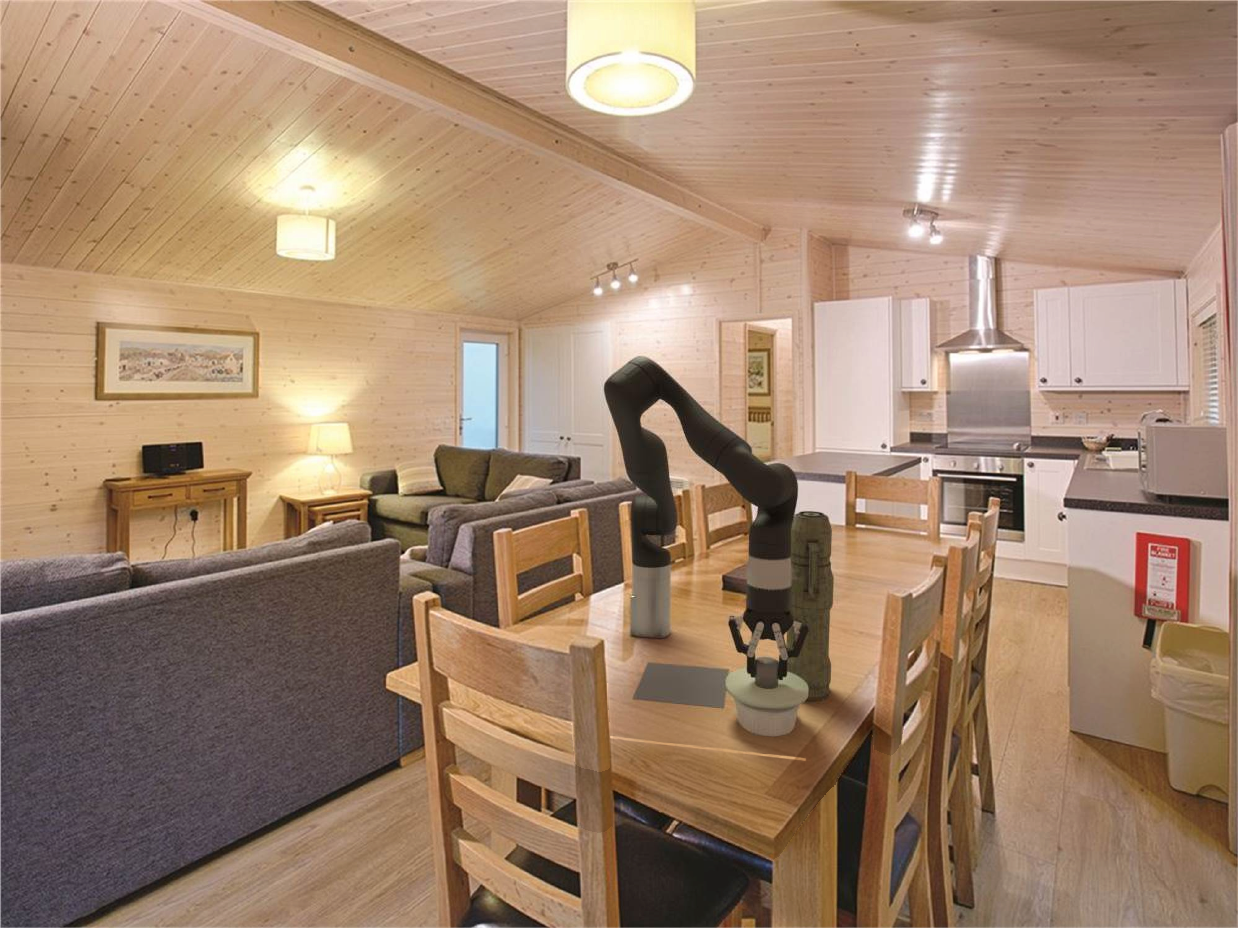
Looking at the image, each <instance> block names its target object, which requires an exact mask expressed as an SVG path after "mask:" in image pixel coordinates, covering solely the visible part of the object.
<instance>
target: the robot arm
mask: <svg viewBox="0 0 1238 928" xmlns="http://www.w3.org/2000/svg"><path fill="white" fill-rule="evenodd" d="M603 394H604V398H605V401H606V404H607V407H608V410H609V412H610V416H611V419H612V422H613V424H614V427H615V429H616V432H617V436H618V440H619V444H620V448H621V452H622V459H623V463H624V467H625V472H626V475H627V477H628V479H629V480H630V482H631V483H632V484H633V485H634V486H635V487H636V488H637V489H638V490H640V491H641V492H642V493H644V494H645V495H637V496H635V497H634V498H633V499H632V501H631V505H630V531H631V556H632V558H631V562H632V564H631V569H632V570H631V572H632V573H631V575H632V576H631V585H632V586H631V587H632V589H631V590H632V591H631V592H632V593H631V594H630V597H629V599H630V600H629V602H630V604H629V607H630V608H629V609H630V610H629V611H630V612H629V615H630V616H629V618H630V620H629V621H630V623H629V627H630V628H629V630H630V631H629V633H630V635H631V636H636V637H638V638H642V639H651V640H652V639H654V640H655V639H656V640H657V639H663V638H665V637H669V635H670V634H671V597H672V596H671V595H672V594H671V593H672V592H671V590H672V588H671V586H672V585H671V581H672V580H671V577H672V576H671V575H672V572H671V571H672V568H671V567H672V566H671V564H672V563H671V562H672V561H671V560H672V557H671V551H670V550H668V549H667V548H665V547H663V546H661V545H659V544H656V543H654V542H653V541H651V540H650V539H649V538H648V536H660V537H661V536H663V537H664V536H670V535H672V534H673V533H674V532H676V529H677V526H678V510H677V504H676V500H675V497H674V492H673V488H672V485H671V478H670V469H669V467H670V466H669V458H668V452H667V448H666V445H665V442H664V440H663V439H662V438H661V437H660V436H659V435H658V434H656V433H655V432H653V431H651V430H649V429H647V428H645V427H642V423H641V419H642V416H643V414H644V413H645V412H647V411H648V410H649V409H650V408H652V407H653V406H654V405H655V404H656V403H657V402H658V401H660V400H661V401H663V402H665V403H666V404H667V405H669V406H670V407H671V408H672V409H673V411H674V412H675V414H676V415H677V417H678V419H679V423H680V425H681V428H682V431H683V434H684V437H685V439H686V441H687V444H688V445H689V447H690V449H691V450H692V451H693V453H695V454H696V455H697V457H699V458H700V459H701V460H703V462H706V463H707V464H708V465H709V466H711V467H712V468H713V469H714V470H716V471H717V472H719V473H720V474H722V475H723V476H724V478H725V479H726V480H727V482H728V483H729V484H730V485H731V487H733V488H734V490H736V492H737V493H738V494H739V495H740V496H741V497H742V498H743V499H745V500H746V501H747V502H748V503H749V504H751V505H753V506H755V507H757V511H756V517H755V518H754V520H753V521H752V522H751V524H750V527H749V531H748V557H747V564H746V575H745V577H746V585H745V588H746V590H745V592H746V593H745V595H746V597H745V610H744V612H743V614H742V615H738V616H735V615H729V617H728V622H727V624H728V627H729V630H730V633H731V636H732V641H733V643H734V648H735V650H736V652H737V653H739V654H744V655H745V656H746V668H747V673H748V674H751V677H752V678H755V660H756V651H757V647H758V646H759V642H760V641H764V640H769V641H770V640H771V641H776V645H777V648H778V652H779V655H778V662H779V680H783V677H786V676H787V661H788V659H789V658H791V657H795V658H797V657H798V656H799V654H800V651H801V649H802V646H803V644H804V641H805V638H806V636H807V633H808V631H809V627H808V623H807V622H806V621H802V622H801V621H798V620H796V619H794V618H793V615H792V614H791V590H792V565H791V527H792V523H793V519H794V516H795V514H796V509H797V503H798V495H799V484H798V479H797V476H796V474H795V472H794V471H793V469H792V468H791V467H790V466H788V465H786V464H785V463H781V462H780V463H779V462H774V463H768V464H766V463H765V462H763V461H762V460H761V459H759V458H758V457H757V456H756V455H754V453H753V450H752V447H751V445H750V444H749V443H748V442H747V441H746V440H745V439H744V438H742V437H741V436H739V435H738V434H736V433H735V432H734V431H733V430H731V429H730V428H729V427H727V426H725V425H724V424H722V423H721V422H720V421H719V420H717V419H716V418H715V417H714V416H713V415H711V414H710V413H709V412H708V411H707V410H706V409H705V408H704V407H703V406H702V405H701V404H699V402H698V401H697V400H696V399H695V398H693V396H692V395H691V394H690V393H689V392H688V391H687V390H686V389H685V388H684V387H683V386H682V385H681V384H680V383H679V382H677V380H676V379H675V378H673V377H672V376H671V374H669V373H668V372H667V371H666V370H665V369H664V368H663V367H662V366H661V365H660V364H659V363H657V362H656V361H655V360H653V359H652V358H650V357H648V356H644V355H638V356H636V357H633V358H632V359H630V360H629V361H628V362H627V363H625V364H624V365H623V366H622V367H620V368H619V369H617V370H616V371H615V372H614V373H612V374H611V375H610V376H609V377H608V378H607V379H606V381H605V382H604V385H603ZM646 495H647V496H646ZM743 623H745V625H746V627H747V628H748V629H749V631H750V632H751V635H750V639H749V642H748V644H747V643H744V639H743V637H742V633H741V629H742V627H743V625H742V624H743ZM792 625H793V626H794V627H795V628H794V630H795V633H796V637H795V639H794V642H793V644H792V647H790V648H787V647H786V643H787V642H786V640H785V634H787V631H788V630H789V629H790V627H791V626H792Z"/></svg>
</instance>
